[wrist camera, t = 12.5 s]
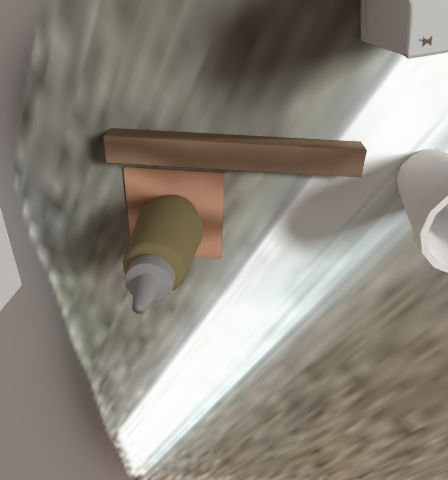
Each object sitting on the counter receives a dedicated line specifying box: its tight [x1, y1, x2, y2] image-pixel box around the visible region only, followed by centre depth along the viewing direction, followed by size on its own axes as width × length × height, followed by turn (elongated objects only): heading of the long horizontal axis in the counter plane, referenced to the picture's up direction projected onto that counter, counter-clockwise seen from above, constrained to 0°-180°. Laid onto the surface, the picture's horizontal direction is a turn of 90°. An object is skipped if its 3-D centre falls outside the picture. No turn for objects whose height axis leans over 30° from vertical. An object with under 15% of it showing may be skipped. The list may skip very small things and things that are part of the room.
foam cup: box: [396, 149, 448, 273], centre depth 41 cm, size 10×9×13 cm
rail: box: [103, 128, 367, 258], centre depth 49 cm, size 16×28×3 cm, turn 88°
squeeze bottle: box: [123, 195, 203, 314], centre depth 44 cm, size 8×8×18 cm
